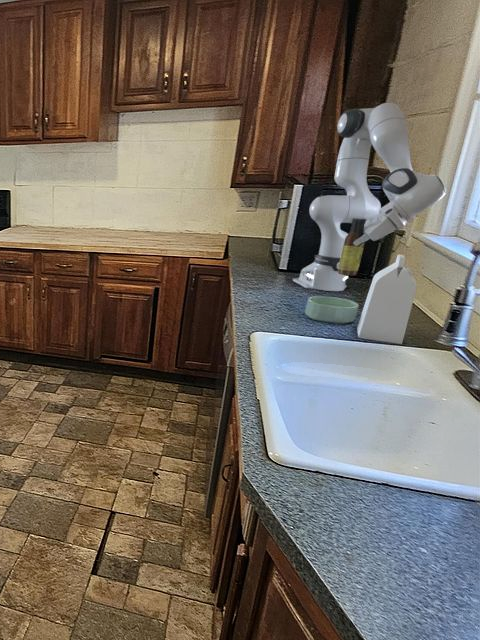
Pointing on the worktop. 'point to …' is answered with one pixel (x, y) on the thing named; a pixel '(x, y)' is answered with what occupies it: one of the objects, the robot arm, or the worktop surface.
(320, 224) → the robot arm
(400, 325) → the milk
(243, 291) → the worktop surface
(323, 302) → the bowl
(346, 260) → the sauce bottle
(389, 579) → the worktop surface
